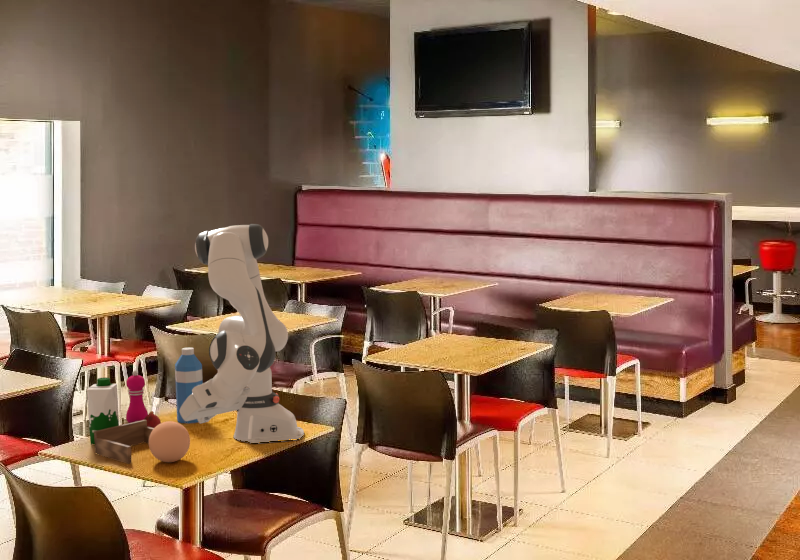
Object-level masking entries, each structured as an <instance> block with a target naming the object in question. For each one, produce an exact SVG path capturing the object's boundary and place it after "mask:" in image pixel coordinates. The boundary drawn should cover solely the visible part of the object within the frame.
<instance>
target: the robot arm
mask: <svg viewBox="0 0 800 560" xmlns="http://www.w3.org/2000/svg"><path fill="white" fill-rule="evenodd" d="M268 247H269V236H268V234H267V232H266V230H265V227H263V226H262V225H261V224H257V223H250V224H240V225H239V224H237V225H229V226H226V227H225V226H224V227H220V228H216V229H212V230H208V229H207V230H205V231H203V232H200V233H199V234H198V235H197V237H196V238H195V243H194V251H195V254H196V257H197V258H198V261H199V262H200V263H201V264H203V265H207V270H208V271H207V275H208V281H209V285H210V287H211V289H212V290H213V292H215V294H217V295H218V296H219V297H221V298H222V299H224V300H226V301H228V302H229V304H230V305H231V306H232V307H233V309H235V310H236V311H237V312H238V313H239V315H232V316H226V317H225V318H224V319H222V321H221V322H220V324H219V327H218V332H217V334H216V335H215V336H214V337H213V338H212V340H211V342H210V344H209V348H208V355H209V358H210V361H211V363H212V365H213V367H214V368H215V370H217V373H216V374H215V375H214V376H213V378H210V379H209V380H207V381H205V382H203V384H201V385H198V386H196V387H194V388H193V389H192V393H193V394H191V395H190V396H189V397H188V398H187V399H186V400H185V402H184V403H183V405H182V406H181V408H180V410H179V412H180V414H181V416H182V418H183V419H184V421H190V420H194V419H198V422H197V423H199V424H203V423H204V424H205V423H209V421H210V420H212V419H214V418H215V416H217V415H221V414H225V413H229V412H230V413H231V412H234V411H236V413H237V415H236V425H235V429H234V434H233V439H235V440H236V439H237V441H240V440H241V441H240V442H245V441H248V442H250V443H249V444H251V443H258V444H260V443H259V442H269V441H278V440H289V439H290V440H291V439H299V438H301V437H302V436H303V435H305V432H304V429H303V428H302V427H300V426H298V424H297V419H296V416H295V414H294V413H293V412H291V411H290V410H288V409H287V408H285V407H284V406H283V405H282V404H280V403H279V402H280V396H279V394H278V393H277V392H276V393H275V392H274V391H273V384H272V383H273V382H272V369H271V366H272V365H273V364H274V363H275V359H276V354H277V353H276V352H280V351H281V350H283V349H284V348H285V347H286V345H287V342H288V339H289V333H288V328H287V327H286V325H285V324H284V322H283V321H281V320H279V319H278V317H277V316H276V315H275V314H274V312H273V311H272V308H271V307H270V306H269V303H268V301H267V299H266V295H265V293H264V289H263V285H262V279H261V273H260V269H259V264H258V261H257V260H258V259H260V258H262V257H264V256H265V254H266V253H267V252H268ZM303 437H304V436H303ZM303 437H302V438H303ZM302 438H301V439H302ZM299 440H300V439H299ZM248 442H247V443H248ZM269 443H270V442H269Z"/></svg>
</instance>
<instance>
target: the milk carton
mask: <svg viewBox="0 0 800 560" xmlns="http://www.w3.org/2000/svg"><path fill="white" fill-rule="evenodd" d="M86 394H87V409H88V411H87V413H88V430H89V439H90V445H92V444H95V442H94V431H98V430H102V429H107V428H111V427H115V426H119V425H120V421H119V417H120V416H119V398H118V394H119V393H118V383H111V378H110V377H98V378H97V379H96V383H94V384H92V385H91V386H89V387H88V388H87V389H86Z"/></svg>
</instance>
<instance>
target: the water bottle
mask: <svg viewBox="0 0 800 560" xmlns="http://www.w3.org/2000/svg"><path fill="white" fill-rule="evenodd" d="M194 349H195V348H194V347H183V348H181V355H180V356H179V357H178V359H177V361H176V362H175V364H174V373H175V376H174V377H175V378H174V380H175V398H176V399H175V400H176V403H175V404H176V422H177V423H179V424H196V423H199V422H198V419H194V420H190V421H184V419H183V418H182V416H181V414H180V412H179V410H180V408H181V406H182V405H183V403H184V402H185V400H186V399H187V398H188V397H189V396H190V395H191V394H193V393H192V389H193V388H194V387H196V386H198V385H201V384H203V383H204V382H203V365H202V363H201V361H200V360H199V359H198V357H197V356H196V354H195V350H194Z"/></svg>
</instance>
